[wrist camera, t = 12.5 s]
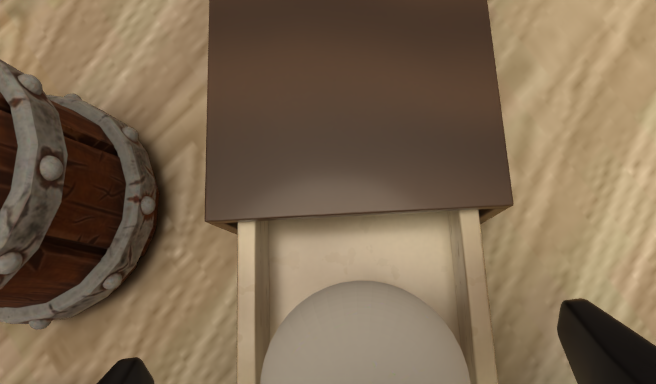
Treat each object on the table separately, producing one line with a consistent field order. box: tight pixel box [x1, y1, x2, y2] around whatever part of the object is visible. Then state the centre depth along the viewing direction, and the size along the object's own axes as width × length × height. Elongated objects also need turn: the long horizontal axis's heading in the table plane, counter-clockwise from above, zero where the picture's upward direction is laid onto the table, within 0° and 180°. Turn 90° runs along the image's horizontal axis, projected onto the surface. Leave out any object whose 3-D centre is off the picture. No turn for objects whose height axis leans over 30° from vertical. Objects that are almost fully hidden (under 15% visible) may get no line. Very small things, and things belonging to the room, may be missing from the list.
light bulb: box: [260, 281, 471, 384], centre depth 15 cm, size 6×6×10 cm
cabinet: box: [205, 0, 513, 235], centre depth 22 cm, size 17×12×5 cm
